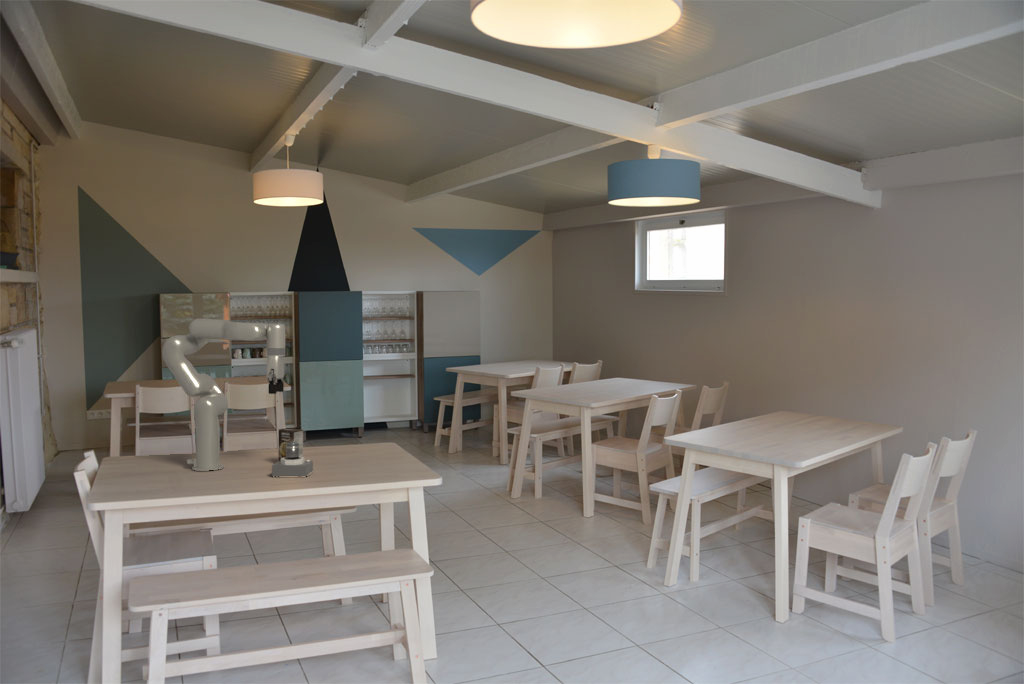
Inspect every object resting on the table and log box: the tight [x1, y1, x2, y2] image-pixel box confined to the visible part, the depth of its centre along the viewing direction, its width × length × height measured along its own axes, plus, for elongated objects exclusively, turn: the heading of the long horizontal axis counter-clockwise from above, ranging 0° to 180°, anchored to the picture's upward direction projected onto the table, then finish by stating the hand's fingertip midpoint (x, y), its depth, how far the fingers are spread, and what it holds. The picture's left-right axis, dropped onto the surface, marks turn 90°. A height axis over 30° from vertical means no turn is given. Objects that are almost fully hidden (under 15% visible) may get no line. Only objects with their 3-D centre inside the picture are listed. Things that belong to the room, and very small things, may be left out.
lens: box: [286, 443, 299, 460], centre depth 314 cm, size 5×5×8 cm
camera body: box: [271, 456, 314, 477], centre depth 314 cm, size 14×10×7 cm
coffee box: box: [278, 427, 304, 461], centre depth 335 cm, size 9×6×16 cm
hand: (276, 392), depth 324 cm, fingers open, 9 cm apart
